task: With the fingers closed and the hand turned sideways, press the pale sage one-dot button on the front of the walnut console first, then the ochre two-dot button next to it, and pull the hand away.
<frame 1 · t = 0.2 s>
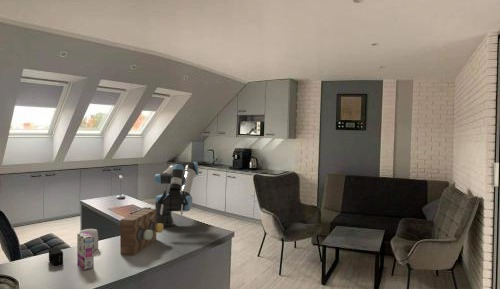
hand: (171, 214, 210), 15 cm above the table, tool tilted 35°, fingers open, 13 cm apart
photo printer: (88, 250, 188), on the table
candy bar box: (85, 266, 165), on the table
ochre button: (159, 227, 199), point 10 cm above the table, slide at 0.0 cm
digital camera: (54, 263, 168), on the table
sage button: (148, 234, 185), point 10 cm above the table, slide at 0.0 cm
console: (139, 246, 194), on the table
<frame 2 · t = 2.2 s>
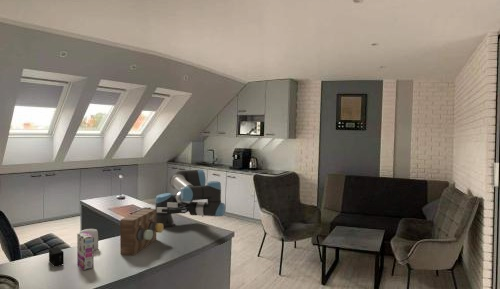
hand: (162, 207, 183), 27 cm above the table, tool horizontal, fingers open, 12 cm apart
nothing on the table moved.
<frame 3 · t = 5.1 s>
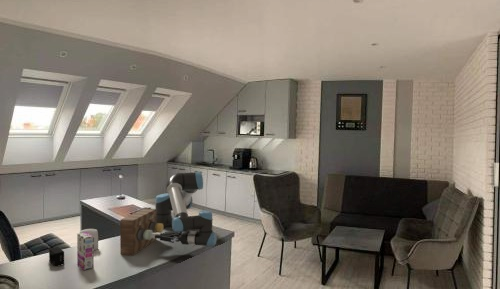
hand: (150, 235, 184), 10 cm above the table, tool horizontal, fingers closed
sage button: (148, 234, 185), point 10 cm above the table, slide at 0.2 cm, touching gripper
everything else where it was.
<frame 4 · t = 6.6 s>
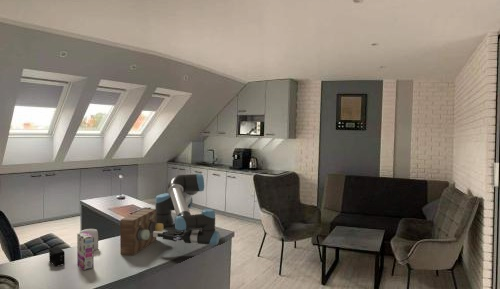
hand: (153, 233, 184), 11 cm above the table, tool horizontal, fingers closed
sage button: (145, 234, 185), point 10 cm above the table, slide at 2.1 cm
everything else where it was.
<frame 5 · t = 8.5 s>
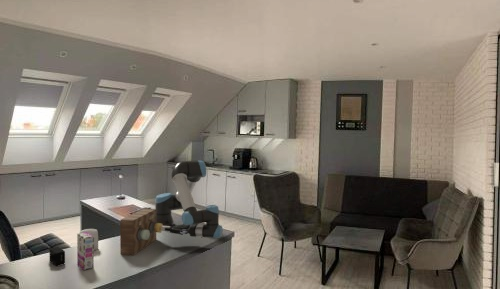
hand: (161, 228, 198), 10 cm above the table, tool horizontal, fingers closed
ochre button: (158, 227, 199), point 10 cm above the table, slide at 0.5 cm, touching gripper
everything else where it was.
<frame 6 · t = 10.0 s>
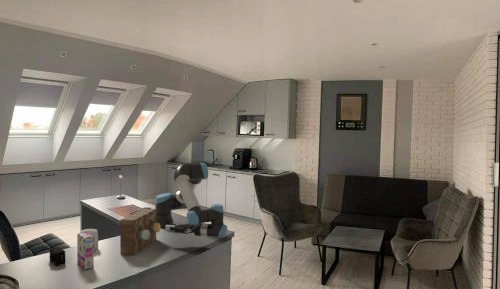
hand: (165, 227, 198), 11 cm above the table, tool horizontal, fingers closed
ochre button: (156, 227, 199), point 10 cm above the table, slide at 2.1 cm
everything else where it was.
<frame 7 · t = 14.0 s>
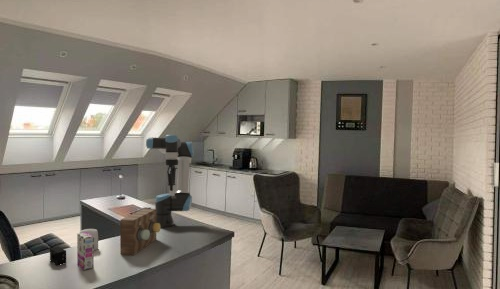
hand: (171, 195, 204), 29 cm above the table, tool pointing down, fingers closed
at the end: sage button slide at 2.1 cm; ochre button slide at 2.1 cm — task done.
